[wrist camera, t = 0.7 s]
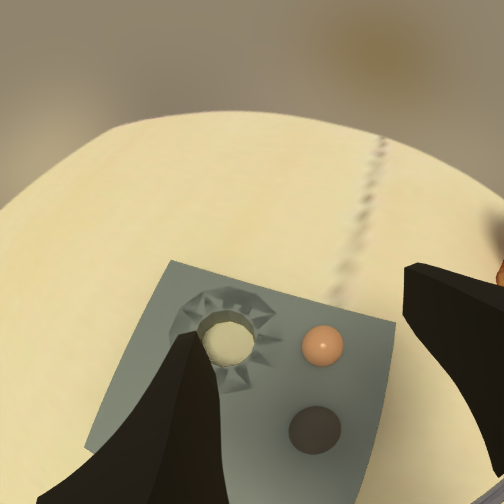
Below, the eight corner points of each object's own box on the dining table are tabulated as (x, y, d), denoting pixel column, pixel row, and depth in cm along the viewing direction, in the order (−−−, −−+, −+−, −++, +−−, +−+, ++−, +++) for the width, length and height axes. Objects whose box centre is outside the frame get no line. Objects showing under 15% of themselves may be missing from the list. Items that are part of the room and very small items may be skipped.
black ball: (326, 456, 17) (339, 460, 14) (279, 447, 17) (284, 449, 14) (338, 413, 18) (353, 409, 16) (293, 403, 19) (301, 398, 16)
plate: (332, 527, 15) (341, 535, 13) (98, 447, 18) (83, 447, 16) (384, 332, 24) (395, 322, 22) (176, 274, 28) (170, 259, 26)
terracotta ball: (332, 374, 20) (344, 365, 18) (294, 365, 21) (300, 354, 18) (341, 338, 22) (352, 324, 19) (304, 328, 22) (311, 313, 20)
